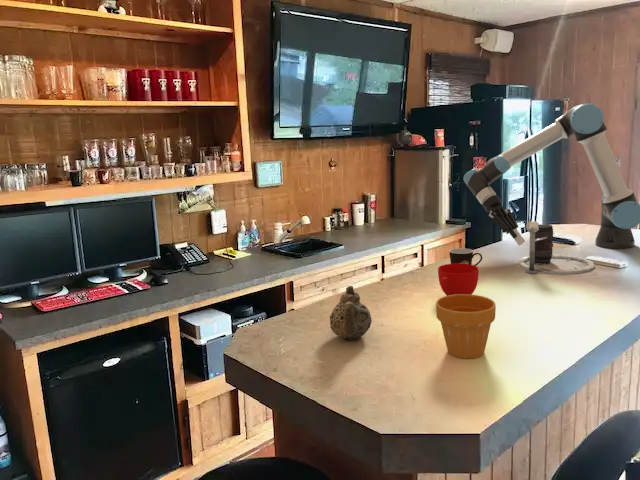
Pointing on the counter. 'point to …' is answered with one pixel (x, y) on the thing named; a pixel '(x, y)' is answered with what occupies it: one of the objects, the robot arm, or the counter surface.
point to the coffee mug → (462, 256)
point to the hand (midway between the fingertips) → (522, 243)
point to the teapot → (350, 316)
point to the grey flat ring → (576, 270)
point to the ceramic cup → (458, 278)
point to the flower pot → (465, 323)
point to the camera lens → (543, 244)
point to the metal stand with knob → (532, 245)
